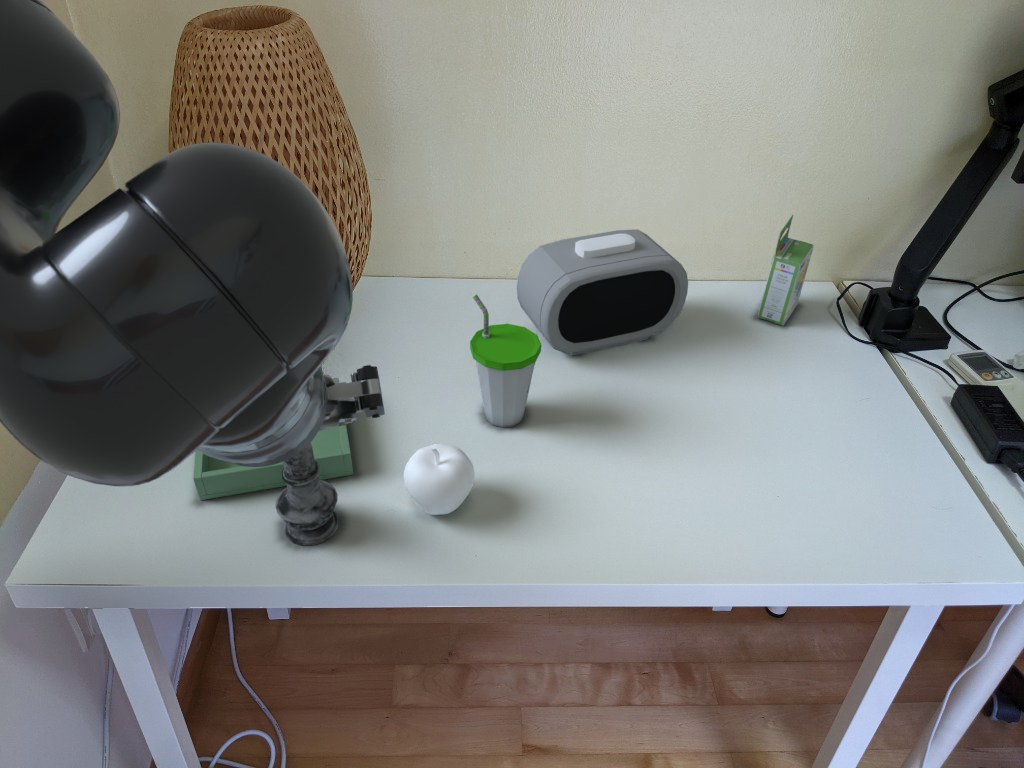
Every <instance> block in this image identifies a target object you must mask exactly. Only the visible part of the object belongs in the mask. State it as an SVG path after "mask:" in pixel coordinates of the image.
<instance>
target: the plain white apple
mask: <svg viewBox="0 0 1024 768" xmlns="http://www.w3.org/2000/svg"><path fill="white" fill-rule="evenodd" d="M475 473H476V472H475V468H474V464H473V462H472V460H471V459H470V457H469V456H468V455H467V454H466V453H465V451H464V450H463V449H461V448H459V447H456V446H454V445H450V444H447V443H440V442H439V443H433V444H430V445H427V446H424V447H421V448H418V449H417V450H416V451H415V452H414V453H413V454H412V455H411V456H410V458H409V460H407V463H406V465H405V467H404V470H403V484H404V488H405V491H406V493H407V495H408V496H409V497H410V499H412V501H413V502H414V503H415V504H416V505H417V506H418V508H419V509H421V510H422V511H423V512H424V513H426V514H428V515H431V516H437V515H448V514H450V513H452V512H454V511H455V510H457V509H459V507H460V506H461V505H462V503H463V502H464V501H465V500H466V498H467V497H468V495H469V494H470V493H471V491H472V489H473V486H474V483H475V475H476V474H475Z"/></svg>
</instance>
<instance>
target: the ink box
mask: <svg viewBox="0 0 1024 768" xmlns="http://www.w3.org/2000/svg"><path fill="white" fill-rule="evenodd" d="M793 219H794V214H791V216H790V217H789V219H788V221H787V222H786V223H785V224H784V226H783V227H782V229H781V230H780V232H779V234H778V238H777V242H776V246H775V250H774V252H773V253H774V254H773V257H772V259H771V263H770V269H769V273H768V275H767V280H766V283H765V287H764V291H763V295H762V297H761V301H760V305H759V310H758V313H757V318H758V319H761V320H763V321H764V320H765V321H768V322H771V323H773V324H775V325H779V326H784V325H785V324H786V323H787V321H788V320H789V318H790V316H792V314H793V313H794V311H795V309H796V308H797V306H798V304H799V301H800V297H801V294H802V290H803V286H804V283H805V279H806V275H807V273H808V269H809V265H810V261H811V258H812V254H813V251H814V246H815V244H813V243H809V242H806V241H802V240H798V239H794V238H791V237H789V233H790V229H791V225H792V221H793Z"/></svg>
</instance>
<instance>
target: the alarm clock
mask: <svg viewBox="0 0 1024 768" xmlns="http://www.w3.org/2000/svg"><path fill="white" fill-rule="evenodd" d="M688 290H689V279H688V273H687V271H686V269H685V268H684V266H683V264H682V263H681V262H680V261H679V260H677V259H676V258H675V256H674V257H673V256H672V255H671V254H670V253H669V252H668V251H667V250H666V249H664V248H663V247H662V246H661V245H660V244H658V242H656V241H655V240H654V239H653V238H652V237H650V236H649V235H648V234H646V232H643V231H641V230H640V229H638V228H637V229H617V230H611V231H605V232H599V233H594V234H593V233H592V234H587V235H582V236H576V237H569V238H564V239H559V240H555V241H552V242H549V243H545V244H542V245H539V246H538V247H537V248H535V249H534V250H533V251H531V252H530V253H529V254H528V255H527V257H526V258H525V260H524V261H523V262H522V264H521V266H520V270H519V272H518V275H517V280H516V296H517V301H518V303H519V306H520V308H521V310H523V312H524V314H525V315H526V316H527V317H528V319H529V320H530V321H531V322H532V323H533V325H534V326H535V328H536V329H537V330H538V331H539V333H540V335H542V337H543V338H544V339H545V341H546V342H547V343H548V344H549V345H550V347H551V348H553V349H554V350H555V351H558V352H561V353H564V354H570V355H571V356H572V357H573V356H577V355H578V356H579V355H582V354H587V353H590V352H595V351H600V350H606V349H609V348H610V349H611V348H614V347H618V346H622V345H627V344H632V343H637V342H641V341H645V340H649V338H650V337H652V336H654V335H657V334H660V333H663V332H664V331H665V330H666V329H668V328H669V327H670V326H671V325H672V324H674V322H675V321H676V320H677V318H678V317H680V315H681V313H682V310H683V308H684V306H685V303H686V299H687V296H688Z"/></svg>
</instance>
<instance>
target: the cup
mask: <svg viewBox="0 0 1024 768" xmlns="http://www.w3.org/2000/svg"><path fill="white" fill-rule="evenodd" d="M472 298H473V300H474V302H475V303H476V305H477V306H478V307H479V309H480V310H481V312H482V314H483V328H481V329H480V330H477V331H475V333H474V335H473V336H472V338H471V339H470V341H469V350H470V353H471V355H472V359H473V360H474V361H475V364H476V365H475V366H476V370H477V377H478V382H479V389H480V396H481V400H482V406H483V412H484V413H483V414H484V417H485V420H486V421H487V422H488V423H489V424H490V425H492V426H493V427H499V428H511V427H514V426H516V425H518V424H520V423H522V421H523V418H524V416H525V411H526V407H527V401H528V397H529V393H530V389H531V385H532V384H531V383H532V378H533V374H534V369H535V364H536V362H537V360H538V358H539V356H540V354H541V352H542V343H541V340H540V339H539V336H538V334H537V333H535V332H534V331H531V329H529V328H527V327H525V326H521V325H515V324H511V323H501V324H492V325H489V324H490V323H489V322H490V321H489V320H490V317H489V316H490V315H489V311H488V309H487V307H486V306H485V304H484V303H483V301H482V300H481V299H480V297H479V296H478V294H477V293H476V294H474V296H472Z"/></svg>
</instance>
